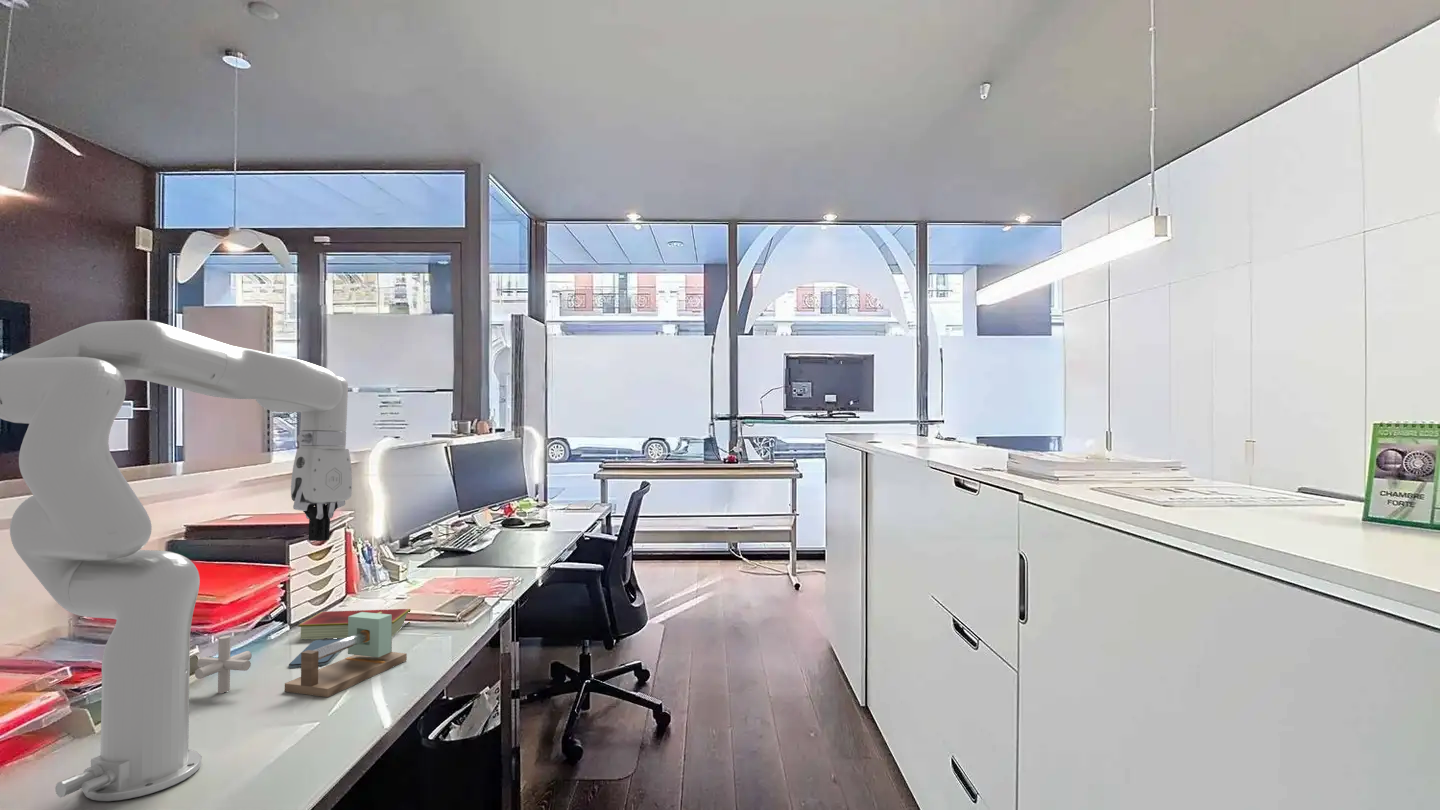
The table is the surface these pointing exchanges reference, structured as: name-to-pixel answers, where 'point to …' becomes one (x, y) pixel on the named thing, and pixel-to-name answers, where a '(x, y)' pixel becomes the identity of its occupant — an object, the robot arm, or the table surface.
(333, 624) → the hardcover book
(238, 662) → the pipe connector
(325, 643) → the smartphone
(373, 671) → the rod stand
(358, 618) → the collar
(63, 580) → the robot arm
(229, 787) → the table surface
